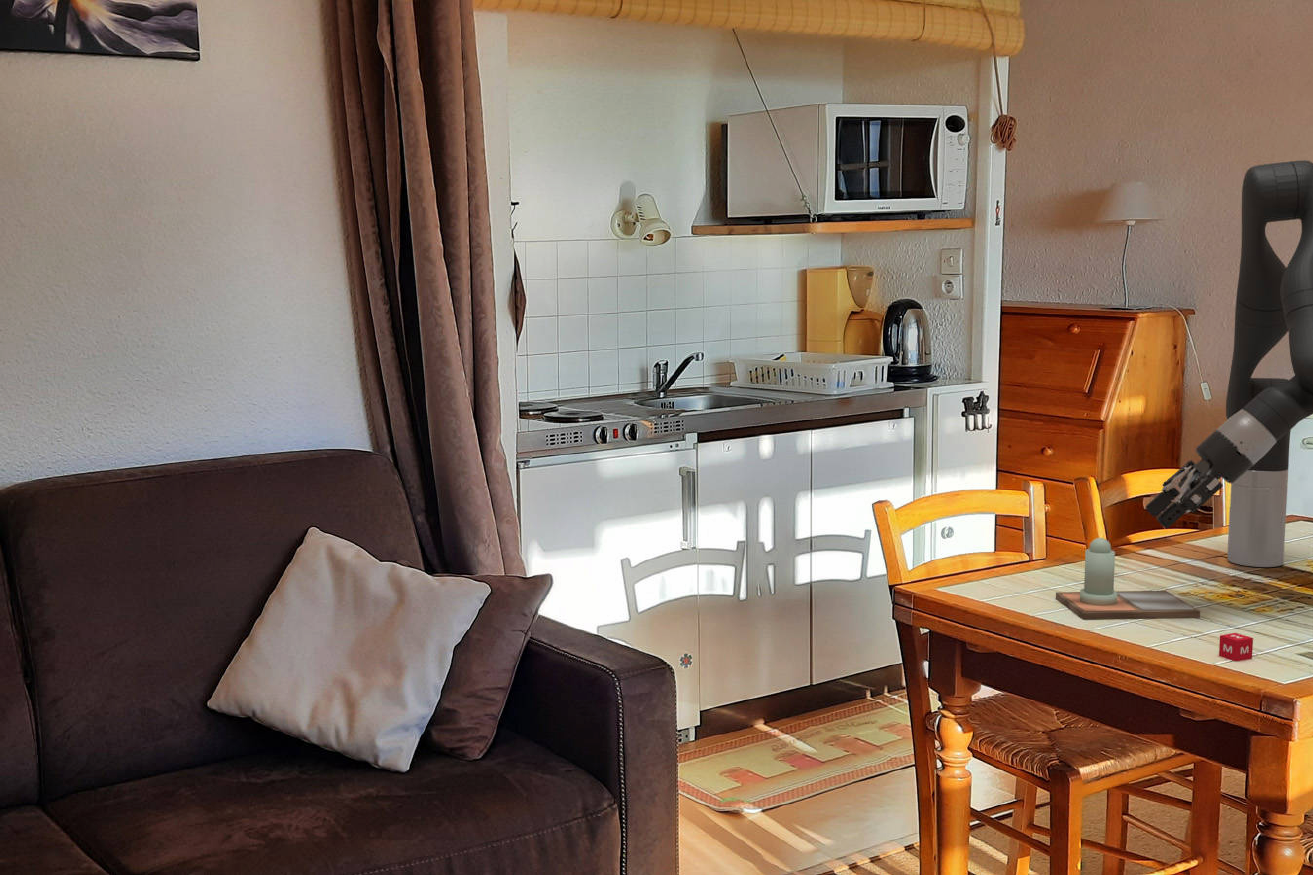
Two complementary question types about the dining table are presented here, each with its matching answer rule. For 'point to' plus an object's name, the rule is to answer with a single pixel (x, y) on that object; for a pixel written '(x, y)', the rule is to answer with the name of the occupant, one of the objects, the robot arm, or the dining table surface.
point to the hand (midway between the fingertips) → (1155, 518)
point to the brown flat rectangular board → (1131, 606)
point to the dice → (1235, 647)
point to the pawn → (1099, 575)
